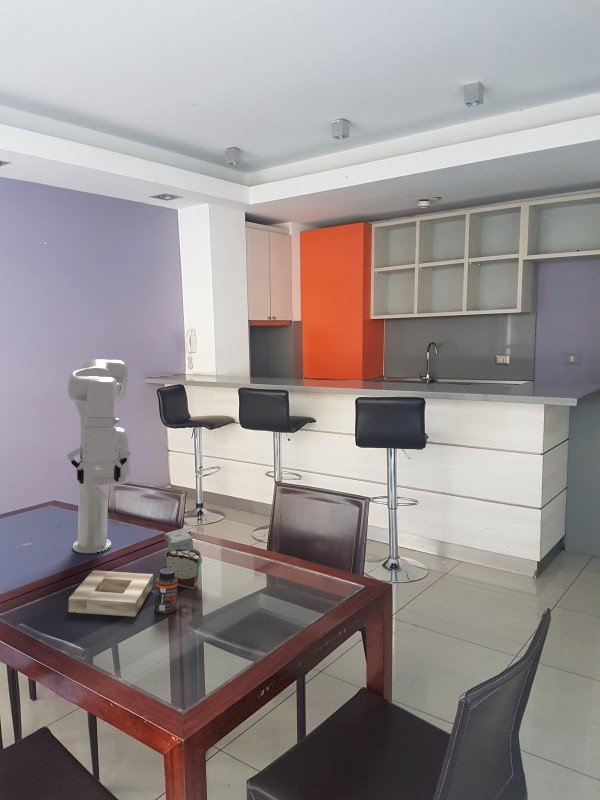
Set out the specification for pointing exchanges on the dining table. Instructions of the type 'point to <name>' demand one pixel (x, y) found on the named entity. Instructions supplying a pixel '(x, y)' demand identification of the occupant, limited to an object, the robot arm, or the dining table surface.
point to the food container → (184, 565)
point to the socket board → (108, 603)
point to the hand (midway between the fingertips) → (99, 481)
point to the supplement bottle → (166, 591)
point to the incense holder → (178, 539)
